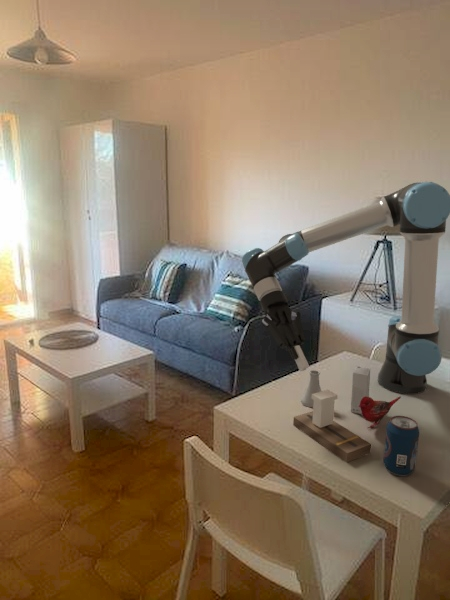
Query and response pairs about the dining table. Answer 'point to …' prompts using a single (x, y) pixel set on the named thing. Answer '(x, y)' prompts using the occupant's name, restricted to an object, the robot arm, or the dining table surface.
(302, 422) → the fader board
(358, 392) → the skincare box
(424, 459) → the dining table surface
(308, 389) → the flask
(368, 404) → the decorative bird figurine
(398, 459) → the soda can
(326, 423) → the fader knob
